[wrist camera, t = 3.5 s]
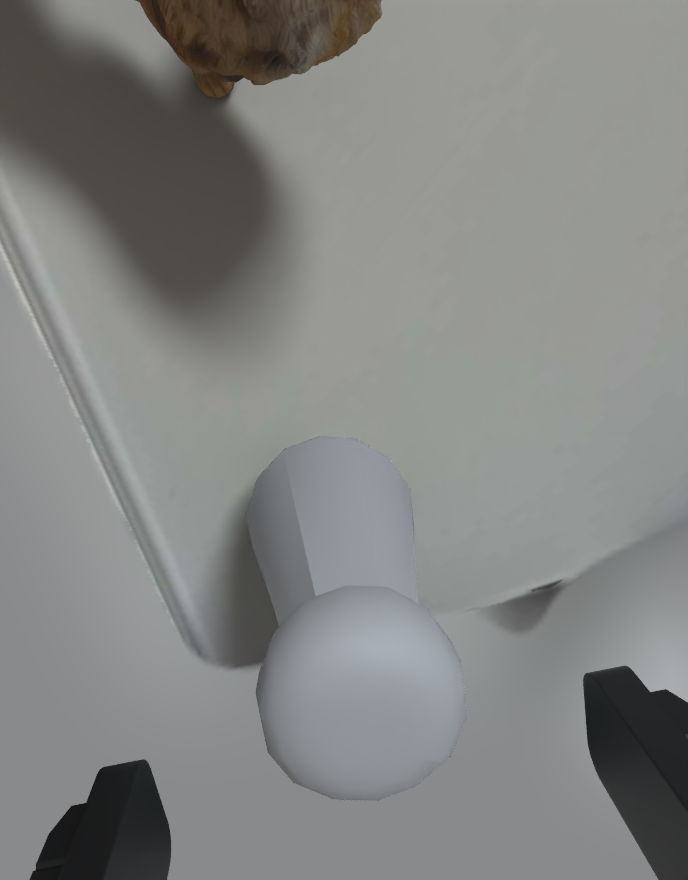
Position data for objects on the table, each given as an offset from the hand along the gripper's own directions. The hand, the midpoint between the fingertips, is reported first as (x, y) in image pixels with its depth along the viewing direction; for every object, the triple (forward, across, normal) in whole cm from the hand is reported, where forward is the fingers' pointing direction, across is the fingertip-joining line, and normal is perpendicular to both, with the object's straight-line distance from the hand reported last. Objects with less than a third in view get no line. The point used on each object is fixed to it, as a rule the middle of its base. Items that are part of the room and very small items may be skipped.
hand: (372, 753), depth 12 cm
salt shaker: (+14, 0, 0) cm, 14 cm away
